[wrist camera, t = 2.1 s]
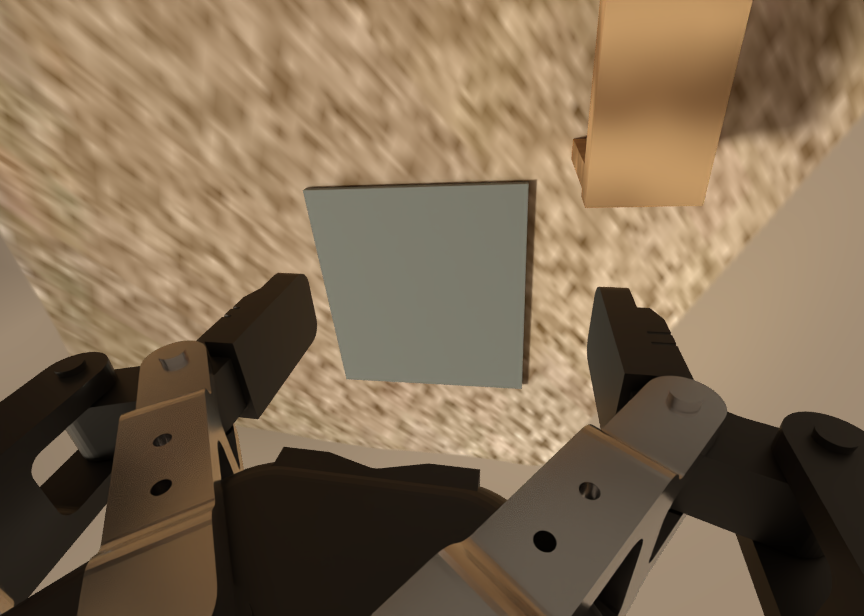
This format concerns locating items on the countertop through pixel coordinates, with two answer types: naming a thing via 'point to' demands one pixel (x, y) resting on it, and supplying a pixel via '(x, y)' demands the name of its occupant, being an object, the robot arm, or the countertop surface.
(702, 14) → the tan wooden block
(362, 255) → the mat
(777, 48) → the countertop surface
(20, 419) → the robot arm
